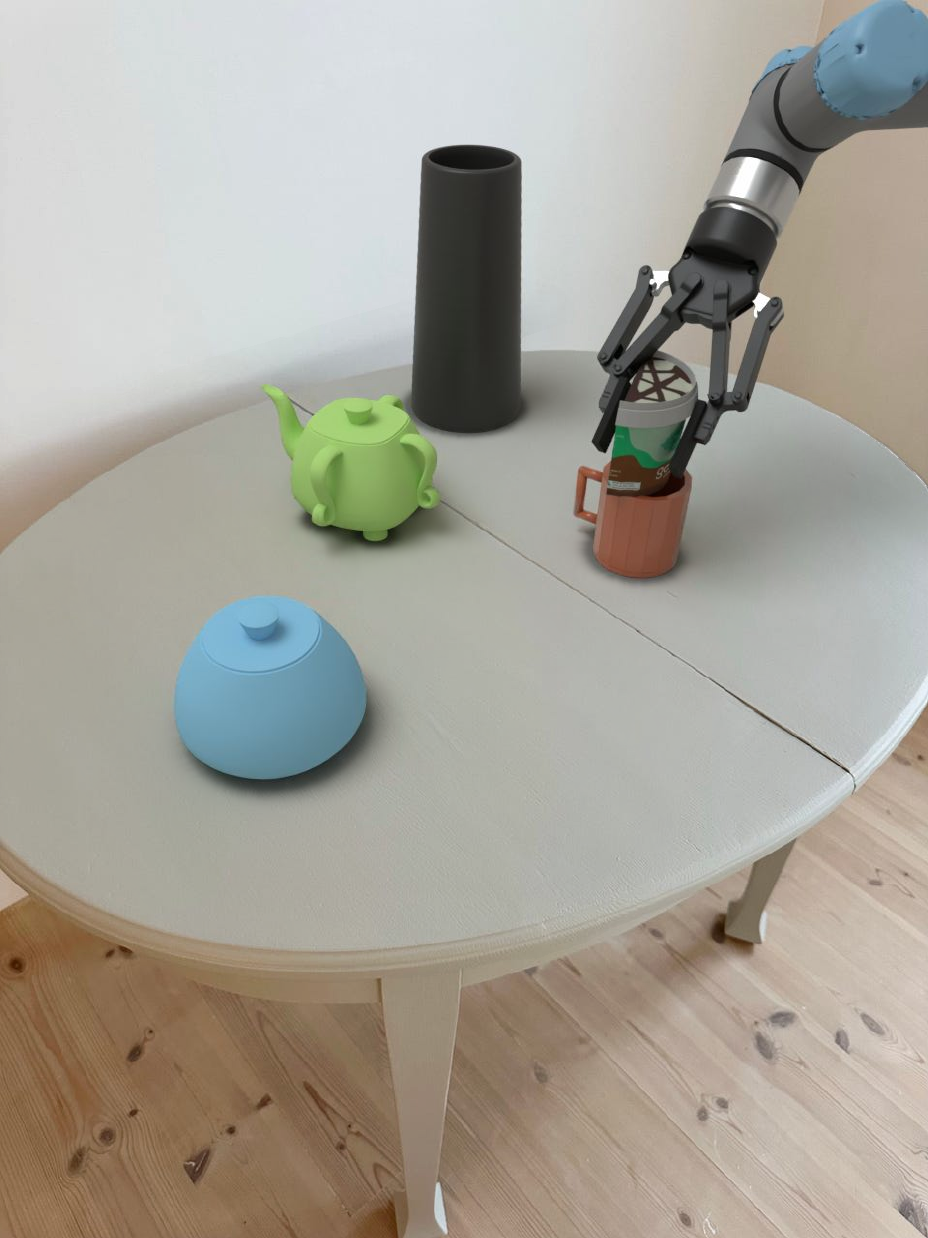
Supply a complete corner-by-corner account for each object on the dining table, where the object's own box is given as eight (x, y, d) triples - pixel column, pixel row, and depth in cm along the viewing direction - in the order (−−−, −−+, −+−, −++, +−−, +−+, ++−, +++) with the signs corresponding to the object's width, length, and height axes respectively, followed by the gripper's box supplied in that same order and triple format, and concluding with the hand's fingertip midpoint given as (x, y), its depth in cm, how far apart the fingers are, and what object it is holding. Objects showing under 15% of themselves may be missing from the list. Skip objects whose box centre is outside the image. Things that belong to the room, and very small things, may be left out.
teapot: (287, 562, 94) (273, 450, 86) (273, 485, 105) (259, 379, 96) (446, 541, 97) (447, 431, 89) (417, 468, 108) (416, 364, 100)
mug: (689, 546, 97) (706, 470, 92) (655, 588, 92) (669, 510, 86) (590, 510, 102) (600, 435, 96) (552, 548, 97) (559, 472, 91)
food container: (669, 517, 86) (691, 417, 79) (602, 502, 87) (618, 403, 80) (690, 451, 94) (711, 356, 88) (629, 438, 96) (645, 344, 89)
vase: (388, 407, 119) (380, 156, 100) (459, 370, 127) (463, 133, 108) (473, 444, 112) (480, 184, 93) (542, 403, 120) (562, 156, 102)
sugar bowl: (293, 823, 70) (276, 713, 63) (140, 746, 76) (107, 636, 68) (402, 697, 80) (398, 589, 73) (260, 637, 86) (243, 531, 78)
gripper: (849, 271, 85) (744, 506, 86) (647, 226, 94) (552, 441, 94) (848, 226, 79) (735, 482, 79) (630, 182, 87) (528, 414, 87)
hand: (636, 459), depth 86 cm, fingers closed on food container, 7 cm apart
